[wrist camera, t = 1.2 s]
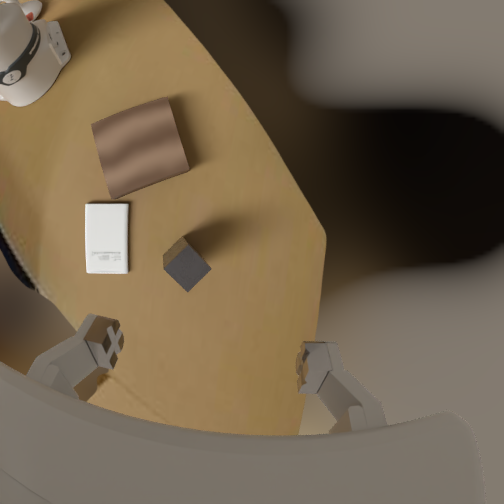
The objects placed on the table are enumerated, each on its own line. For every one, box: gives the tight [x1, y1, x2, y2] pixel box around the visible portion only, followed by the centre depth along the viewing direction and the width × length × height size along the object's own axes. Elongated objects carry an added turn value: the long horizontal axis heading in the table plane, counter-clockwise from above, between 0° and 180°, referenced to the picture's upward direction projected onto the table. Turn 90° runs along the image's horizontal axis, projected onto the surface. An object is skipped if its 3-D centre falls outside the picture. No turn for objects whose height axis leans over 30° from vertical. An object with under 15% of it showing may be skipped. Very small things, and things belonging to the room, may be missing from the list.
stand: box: [91, 97, 190, 199], centre depth 41 cm, size 14×14×4 cm
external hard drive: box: [85, 204, 129, 274], centre depth 43 cm, size 2×8×12 cm
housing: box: [163, 236, 211, 292], centre depth 44 cm, size 5×5×11 cm
